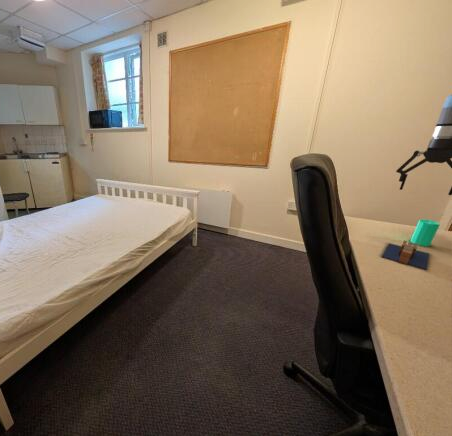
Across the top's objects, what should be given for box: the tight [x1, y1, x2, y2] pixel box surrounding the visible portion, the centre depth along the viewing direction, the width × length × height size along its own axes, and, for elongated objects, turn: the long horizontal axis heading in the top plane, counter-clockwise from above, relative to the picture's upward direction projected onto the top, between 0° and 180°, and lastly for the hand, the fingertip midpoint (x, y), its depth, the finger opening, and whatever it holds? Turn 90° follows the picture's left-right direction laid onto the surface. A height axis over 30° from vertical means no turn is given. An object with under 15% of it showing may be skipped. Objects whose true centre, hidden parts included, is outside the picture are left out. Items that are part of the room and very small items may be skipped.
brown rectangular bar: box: [398, 240, 419, 265], centre depth 88 cm, size 14×4×4 cm, turn 129°
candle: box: [410, 218, 441, 247], centre depth 98 cm, size 6×6×12 cm
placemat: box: [381, 243, 430, 271], centre depth 90 cm, size 18×12×1 cm, turn 129°
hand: (424, 191), depth 92 cm, fingers open, 13 cm apart
